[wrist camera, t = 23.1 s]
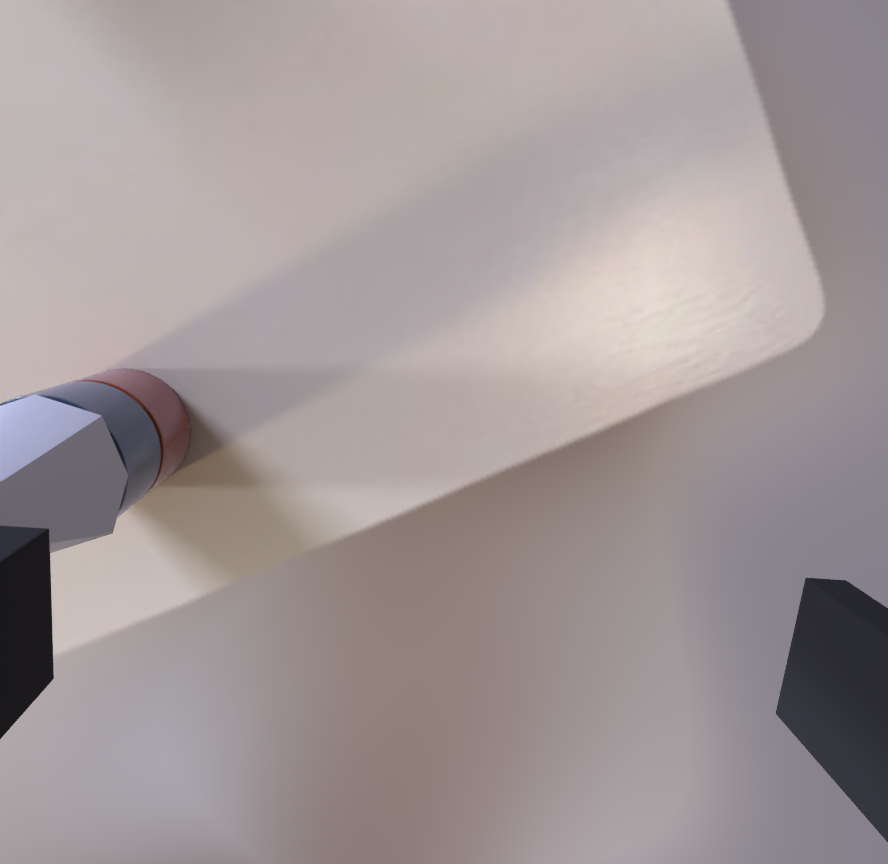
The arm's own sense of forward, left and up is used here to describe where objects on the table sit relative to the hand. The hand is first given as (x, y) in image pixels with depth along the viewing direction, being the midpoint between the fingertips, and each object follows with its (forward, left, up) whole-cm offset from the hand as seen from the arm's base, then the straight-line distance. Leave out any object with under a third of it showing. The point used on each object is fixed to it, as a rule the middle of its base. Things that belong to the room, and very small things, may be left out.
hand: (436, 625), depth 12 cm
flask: (+14, +9, -20) cm, 26 cm away
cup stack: (+14, +9, -29) cm, 33 cm away
